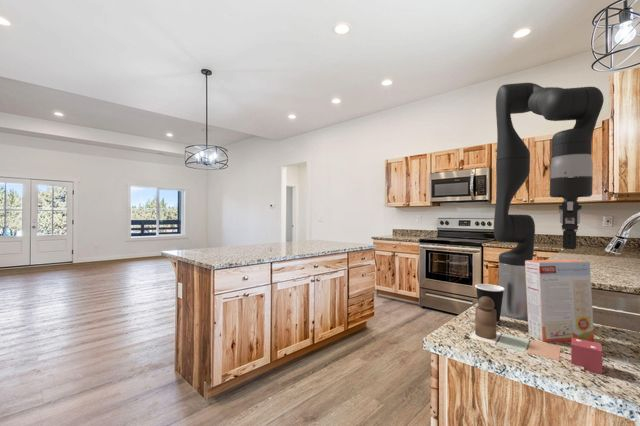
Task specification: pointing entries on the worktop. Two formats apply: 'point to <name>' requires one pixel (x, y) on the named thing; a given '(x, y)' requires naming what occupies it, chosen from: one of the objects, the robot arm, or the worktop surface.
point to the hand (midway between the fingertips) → (569, 246)
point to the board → (523, 345)
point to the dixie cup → (491, 296)
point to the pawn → (485, 318)
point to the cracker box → (559, 300)
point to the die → (587, 355)
